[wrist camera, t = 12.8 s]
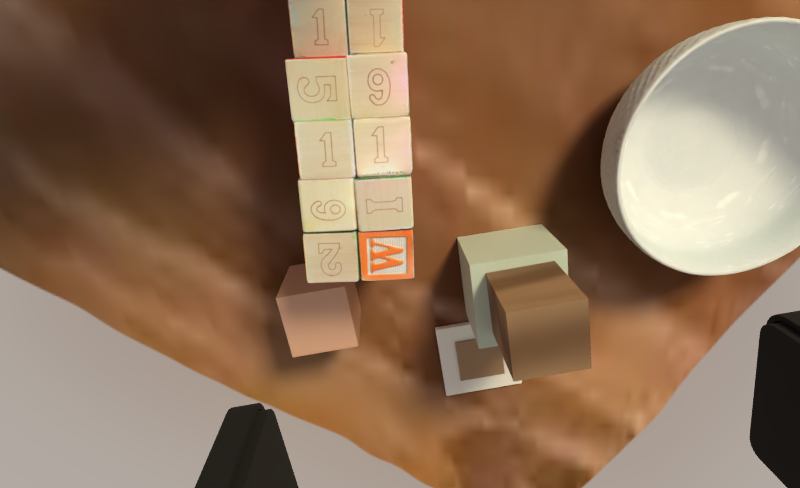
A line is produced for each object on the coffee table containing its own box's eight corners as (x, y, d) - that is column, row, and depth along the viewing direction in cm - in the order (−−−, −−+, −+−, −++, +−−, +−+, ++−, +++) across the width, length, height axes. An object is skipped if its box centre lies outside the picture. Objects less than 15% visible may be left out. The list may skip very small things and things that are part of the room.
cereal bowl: (659, -19, 35) (726, -39, 28) (835, 86, 38) (933, 91, 31) (536, 195, 40) (569, 222, 33) (700, 273, 43) (760, 311, 36)
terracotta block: (289, 265, 41) (275, 298, 35) (349, 255, 41) (344, 286, 35) (304, 318, 42) (292, 357, 37) (361, 308, 42) (358, 346, 37)
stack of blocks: (300, -91, 32) (258, -176, 21) (396, -92, 32) (407, -177, 21) (326, 221, 40) (305, 286, 28) (403, 218, 40) (414, 282, 28)
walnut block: (485, 273, 35) (505, 313, 30) (554, 260, 35) (588, 298, 30) (492, 333, 37) (513, 381, 31) (558, 321, 37) (591, 368, 31)
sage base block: (456, 236, 41) (469, 265, 35) (540, 223, 41) (567, 249, 35) (465, 311, 43) (479, 348, 37) (545, 299, 43) (570, 334, 37)
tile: (434, 327, 43) (435, 331, 43) (513, 313, 43) (515, 317, 42) (445, 392, 46) (446, 397, 45) (520, 379, 46) (522, 384, 45)
